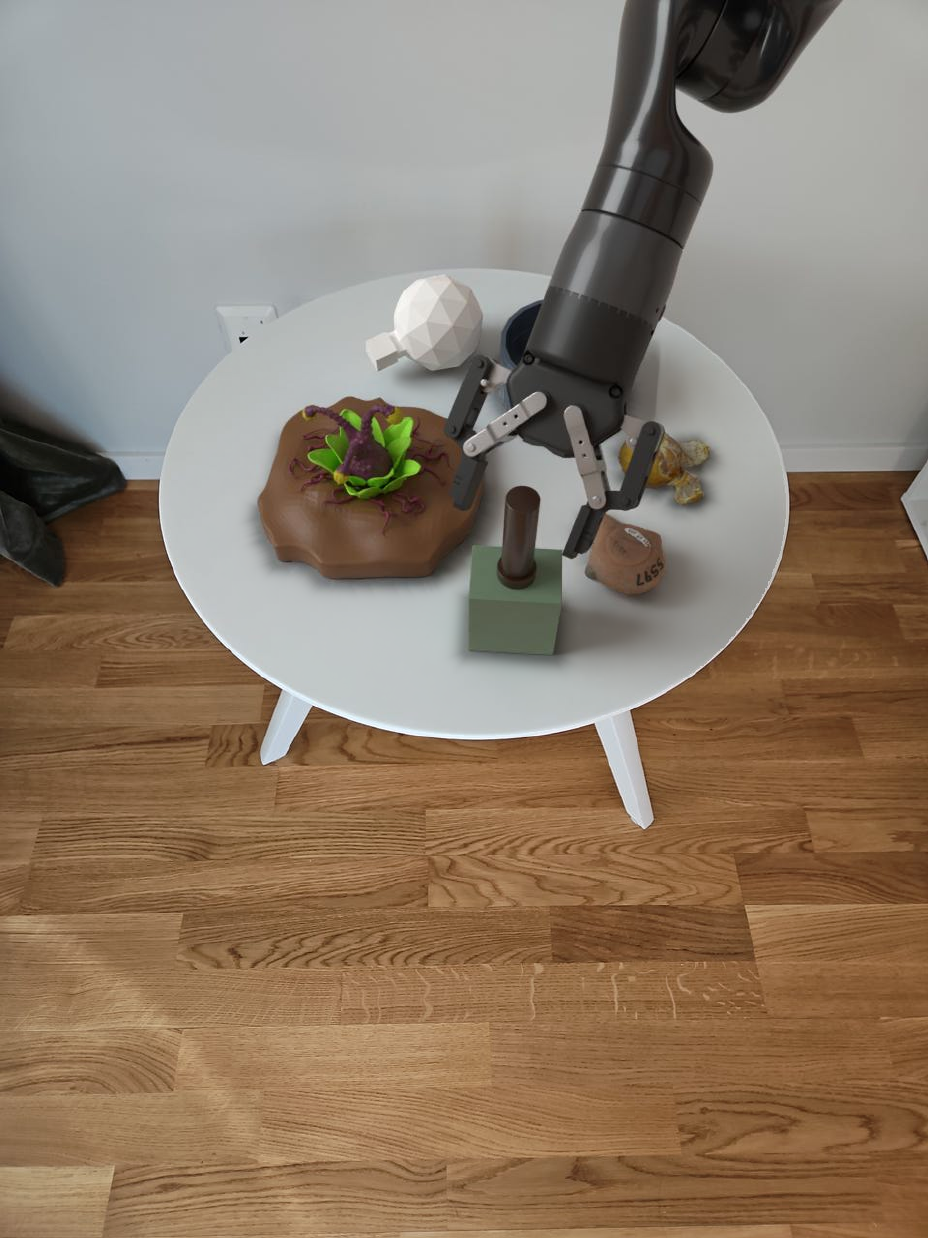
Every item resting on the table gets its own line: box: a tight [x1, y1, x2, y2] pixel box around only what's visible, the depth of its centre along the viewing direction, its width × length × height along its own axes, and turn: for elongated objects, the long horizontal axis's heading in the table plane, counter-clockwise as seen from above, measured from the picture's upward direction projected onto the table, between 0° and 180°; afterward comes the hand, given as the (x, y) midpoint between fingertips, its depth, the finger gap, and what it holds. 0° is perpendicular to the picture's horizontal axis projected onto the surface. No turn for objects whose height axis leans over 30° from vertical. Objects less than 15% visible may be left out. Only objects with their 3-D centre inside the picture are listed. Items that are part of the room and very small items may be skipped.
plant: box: [256, 395, 485, 580], centre depth 78 cm, size 20×20×11 cm
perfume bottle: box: [364, 273, 484, 373], centre depth 88 cm, size 9×9×12 cm
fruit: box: [617, 431, 710, 506], centre depth 83 cm, size 8×8×4 cm
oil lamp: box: [584, 513, 667, 595], centre depth 78 cm, size 9×4×8 cm
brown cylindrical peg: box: [497, 485, 542, 590], centre depth 65 cm, size 3×3×9 cm
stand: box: [467, 544, 563, 656], centre depth 72 cm, size 7×5×8 cm
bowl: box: [498, 299, 543, 412], centre depth 87 cm, size 13×13×6 cm
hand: (514, 532), depth 63 cm, fingers open, 8 cm apart
